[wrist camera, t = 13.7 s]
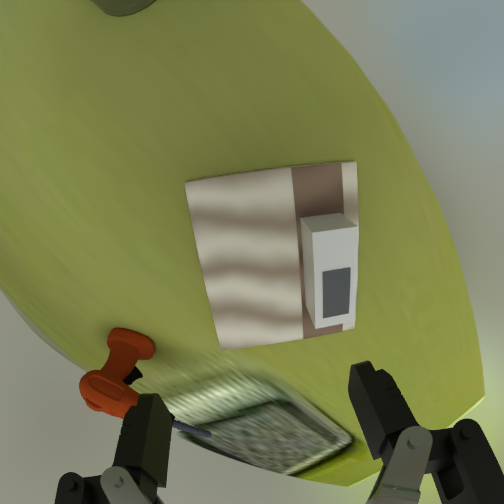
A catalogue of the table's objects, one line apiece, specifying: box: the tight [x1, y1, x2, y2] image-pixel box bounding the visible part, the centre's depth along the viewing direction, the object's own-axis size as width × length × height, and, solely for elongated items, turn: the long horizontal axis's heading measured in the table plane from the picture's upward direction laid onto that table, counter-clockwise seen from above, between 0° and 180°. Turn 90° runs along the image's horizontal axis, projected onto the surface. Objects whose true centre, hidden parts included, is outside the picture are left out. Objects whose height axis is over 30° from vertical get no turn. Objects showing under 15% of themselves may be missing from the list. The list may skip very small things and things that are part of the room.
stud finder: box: [300, 213, 358, 329], centre depth 33 cm, size 12×5×6 cm, turn 7°
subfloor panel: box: [185, 161, 359, 350], centre depth 36 cm, size 24×20×1 cm
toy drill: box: [79, 328, 211, 438], centre depth 34 cm, size 5×19×15 cm, turn 70°
